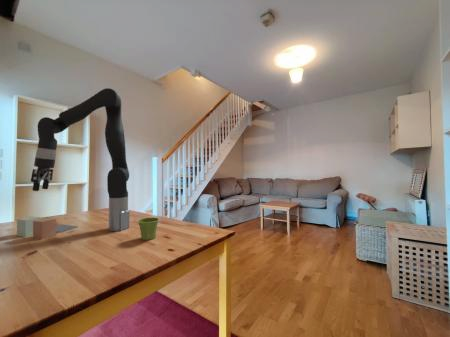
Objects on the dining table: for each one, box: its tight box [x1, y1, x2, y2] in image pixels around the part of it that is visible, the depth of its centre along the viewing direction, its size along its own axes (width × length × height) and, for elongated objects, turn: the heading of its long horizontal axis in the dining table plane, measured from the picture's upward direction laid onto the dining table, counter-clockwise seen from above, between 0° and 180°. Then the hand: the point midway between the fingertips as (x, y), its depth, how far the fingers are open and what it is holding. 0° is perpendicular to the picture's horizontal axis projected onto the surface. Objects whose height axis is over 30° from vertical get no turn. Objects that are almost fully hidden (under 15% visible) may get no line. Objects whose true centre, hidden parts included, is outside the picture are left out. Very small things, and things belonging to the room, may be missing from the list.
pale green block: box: [16, 216, 41, 238], centre depth 98 cm, size 6×6×8 cm
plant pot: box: [137, 216, 160, 241], centre depth 94 cm, size 9×9×9 cm
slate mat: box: [56, 224, 78, 234], centre depth 107 cm, size 12×10×1 cm
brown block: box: [32, 217, 57, 240], centre depth 95 cm, size 6×6×8 cm
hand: (40, 189), depth 99 cm, fingers open, 8 cm apart
